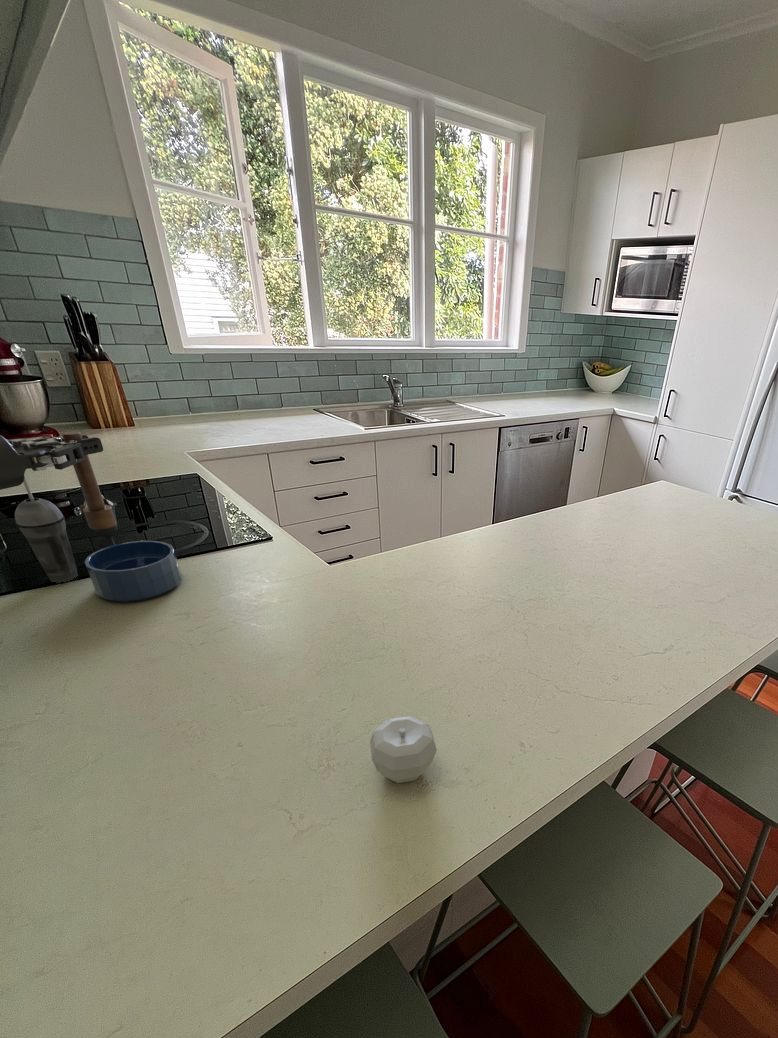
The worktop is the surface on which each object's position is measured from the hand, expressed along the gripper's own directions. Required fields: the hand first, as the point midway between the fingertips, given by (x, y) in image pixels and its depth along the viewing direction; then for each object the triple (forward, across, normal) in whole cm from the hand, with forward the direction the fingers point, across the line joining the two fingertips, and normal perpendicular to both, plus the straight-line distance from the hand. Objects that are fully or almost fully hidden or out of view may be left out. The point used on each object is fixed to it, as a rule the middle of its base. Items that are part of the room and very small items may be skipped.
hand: (93, 442), depth 87 cm
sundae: (+9, +22, +27) cm, 36 cm away
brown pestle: (-3, 0, +13) cm, 13 cm away
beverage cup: (-4, +18, +27) cm, 32 cm away
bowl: (+1, +2, +27) cm, 27 cm away
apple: (-16, -68, +27) cm, 75 cm away
